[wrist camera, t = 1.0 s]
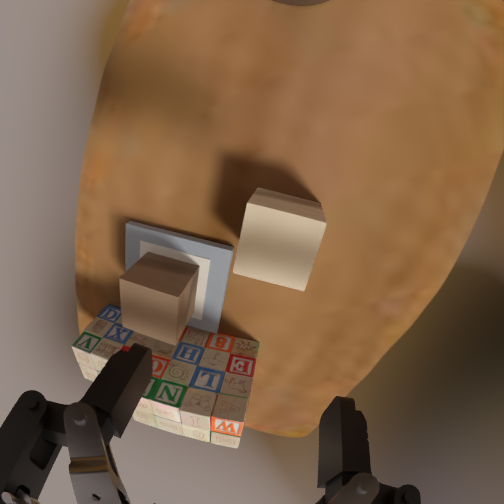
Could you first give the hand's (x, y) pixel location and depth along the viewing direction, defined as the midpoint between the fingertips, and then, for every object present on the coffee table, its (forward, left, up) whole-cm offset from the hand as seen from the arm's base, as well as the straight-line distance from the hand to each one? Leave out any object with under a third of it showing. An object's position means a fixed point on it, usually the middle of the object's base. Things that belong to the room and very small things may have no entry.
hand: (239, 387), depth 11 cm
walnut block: (+8, -10, -17) cm, 21 cm away
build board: (+8, -10, -18) cm, 22 cm away
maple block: (-1, 0, -19) cm, 19 cm away
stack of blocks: (+18, -9, -19) cm, 27 cm away
